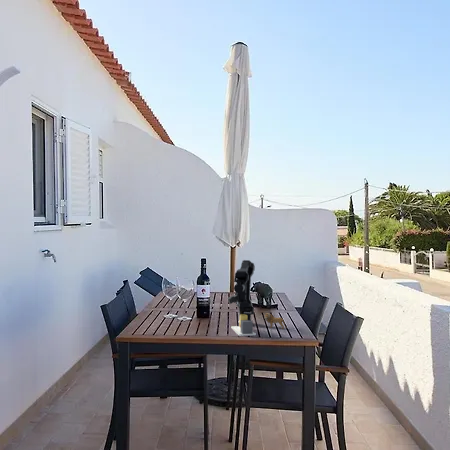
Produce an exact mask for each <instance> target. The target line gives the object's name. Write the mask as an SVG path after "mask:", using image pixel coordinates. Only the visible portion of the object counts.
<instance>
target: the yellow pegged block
mask: <svg viewBox="0 0 450 450" xmlns="http://www.w3.org/2000/svg"><path fill="white" fill-rule="evenodd" d="M238 317H239V320H238V321H239V323H238V326H239V327H240V324H241V320H247V317H248V315H246V314H240V313H239V316H238Z"/></svg>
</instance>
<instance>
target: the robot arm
mask: <svg viewBox="0 0 450 450" xmlns="http://www.w3.org/2000/svg"><path fill="white" fill-rule="evenodd" d="M255 268H256V267H255V263H254V262H252V261H251V260H246V259H243V260H242V262H241V266H240V268H239V269H237V270H236V272H235V273H234V279H233V280H234V281H233V282H234V283H236V284H235V285H234V286H233V290H234V292H235V294H234V295H232V296H229V297H227V301H228V303H229V304H235V306H236V307H237V308H238V312H239V315H240V314H246V315H248V317H247V320H251V321H252V315H254V314H255V308H254V306H253V302H252V300H251V284H252V283H251V282H252V277H253V275H254V271H255Z"/></svg>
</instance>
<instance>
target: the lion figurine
mask: <svg viewBox="0 0 450 450" xmlns="http://www.w3.org/2000/svg"><path fill="white" fill-rule="evenodd" d="M264 320H265V321H266V322H267V323H269V324H270V326H269V328H270V329H271V328H273V324H279V325H280V326H279V328H280V329H282V330H284V329H287V328H288V327H287V326H286V325H285V321H284V319H283V318H282V317H275V316H274V315H272V313H269V312H267V313H264Z"/></svg>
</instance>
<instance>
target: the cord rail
mask: <svg viewBox="0 0 450 450" xmlns="http://www.w3.org/2000/svg"><path fill="white" fill-rule="evenodd" d="M237 323H238V324H239V320H238V322H237ZM253 323H254V322H253V320H252V319H251V320H241V324H240V327H239V325H237V326H235V325H234V326H231V327H230V328H231V330H233V331H234V333H236V334H237V336H239V337H240V336H241V337H245V336H256V335H257V333H256V332H254V330H253V327H254V326H253Z"/></svg>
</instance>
